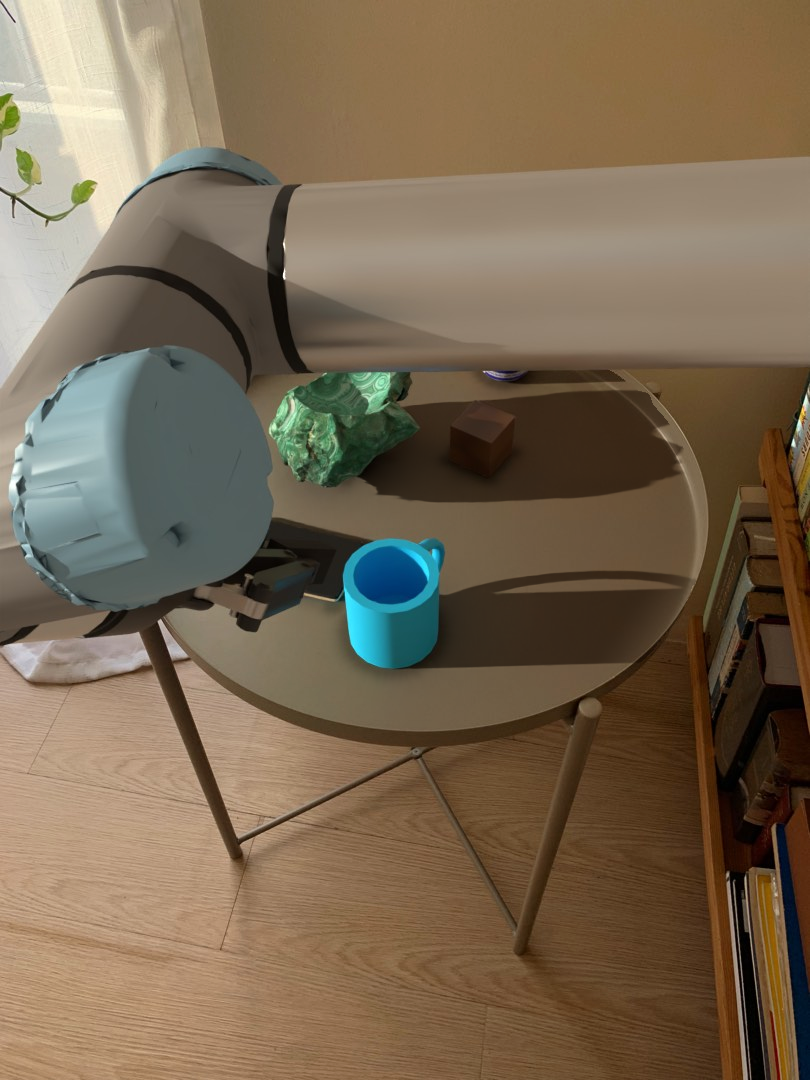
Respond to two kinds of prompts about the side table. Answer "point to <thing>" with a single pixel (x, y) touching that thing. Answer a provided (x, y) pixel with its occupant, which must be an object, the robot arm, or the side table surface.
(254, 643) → the side table surface
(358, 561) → the mug
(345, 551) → the smartphone
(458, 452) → the walnut block
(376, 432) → the mineral
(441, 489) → the side table surface
